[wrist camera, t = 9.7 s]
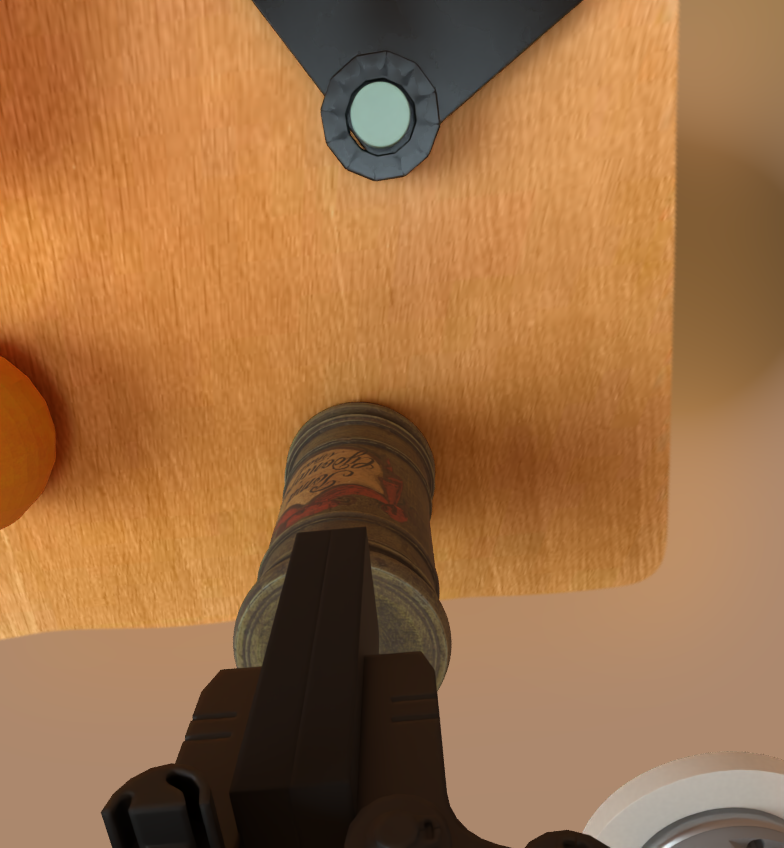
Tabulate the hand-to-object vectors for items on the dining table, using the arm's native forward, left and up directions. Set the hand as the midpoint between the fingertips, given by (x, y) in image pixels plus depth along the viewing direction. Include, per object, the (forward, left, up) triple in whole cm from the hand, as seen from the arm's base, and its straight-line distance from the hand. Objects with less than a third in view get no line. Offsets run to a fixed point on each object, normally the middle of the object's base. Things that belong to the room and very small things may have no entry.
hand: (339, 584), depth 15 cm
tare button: (+8, -8, -24) cm, 26 cm away
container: (-6, +6, -26) cm, 28 cm away
